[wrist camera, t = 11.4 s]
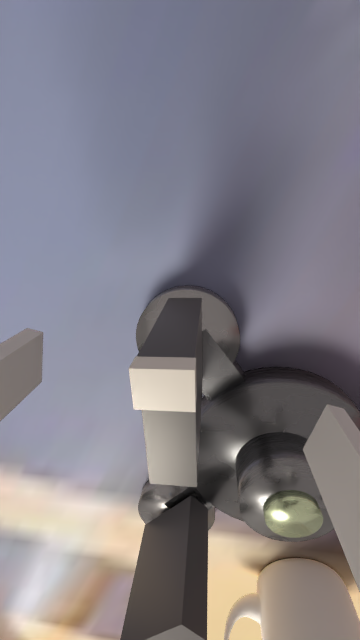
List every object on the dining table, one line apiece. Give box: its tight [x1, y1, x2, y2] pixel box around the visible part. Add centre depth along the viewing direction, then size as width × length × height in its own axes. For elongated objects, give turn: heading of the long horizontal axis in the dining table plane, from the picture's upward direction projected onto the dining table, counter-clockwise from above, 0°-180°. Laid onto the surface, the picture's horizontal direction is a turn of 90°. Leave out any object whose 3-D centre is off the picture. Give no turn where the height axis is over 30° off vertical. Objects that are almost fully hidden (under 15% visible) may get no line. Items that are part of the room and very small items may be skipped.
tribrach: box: [136, 286, 360, 542], centre depth 18 cm, size 25×24×6 cm
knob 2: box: [120, 496, 208, 640], centre depth 19 cm, size 6×2×8 cm, turn 137°
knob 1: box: [129, 298, 202, 487], centre depth 13 cm, size 6×2×8 cm, turn 2°
